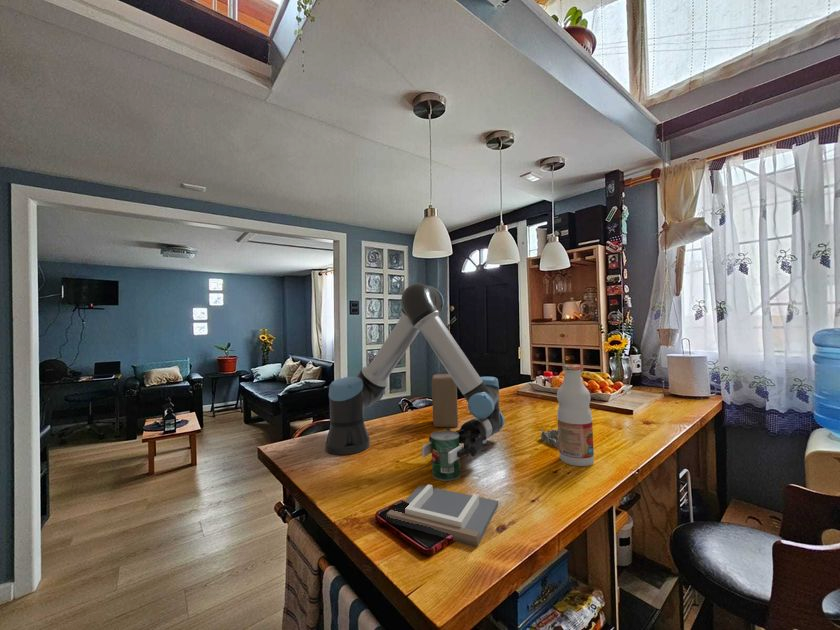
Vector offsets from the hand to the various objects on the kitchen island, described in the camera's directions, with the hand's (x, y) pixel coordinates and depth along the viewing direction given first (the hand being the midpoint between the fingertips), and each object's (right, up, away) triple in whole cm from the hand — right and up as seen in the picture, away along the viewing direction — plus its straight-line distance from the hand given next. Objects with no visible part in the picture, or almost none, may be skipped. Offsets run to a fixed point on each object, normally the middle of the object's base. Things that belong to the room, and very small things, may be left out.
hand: (435, 454), depth 91 cm
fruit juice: (+42, -6, +10) cm, 44 cm away
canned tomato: (+3, -7, +4) cm, 9 cm away
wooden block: (+7, -8, +50) cm, 51 cm away
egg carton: (+42, -6, +25) cm, 49 cm away
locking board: (+1, -7, -16) cm, 17 cm away
